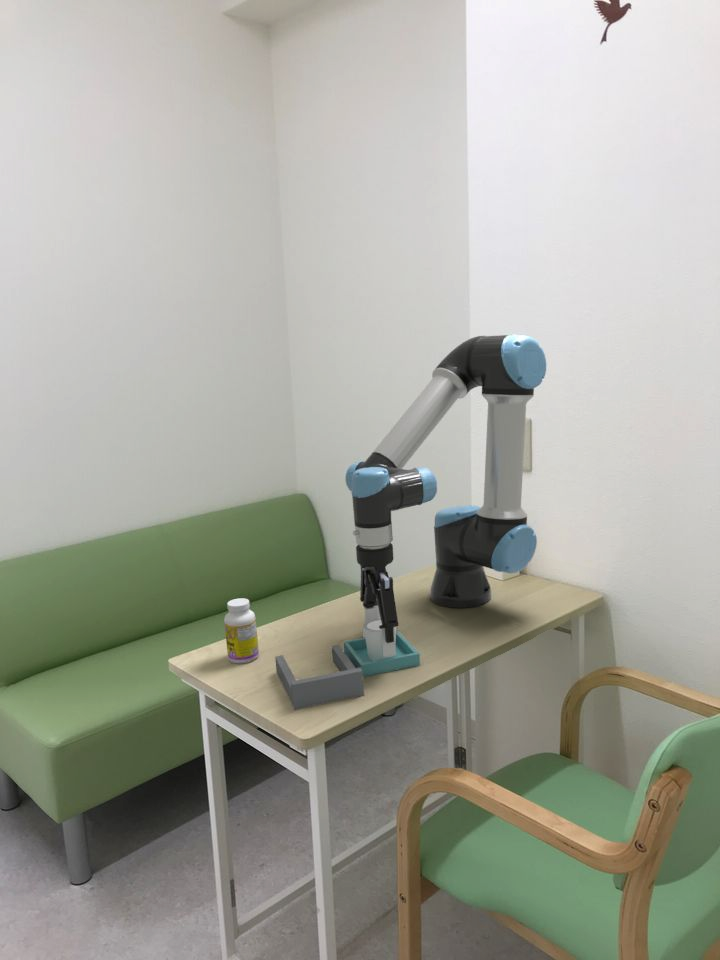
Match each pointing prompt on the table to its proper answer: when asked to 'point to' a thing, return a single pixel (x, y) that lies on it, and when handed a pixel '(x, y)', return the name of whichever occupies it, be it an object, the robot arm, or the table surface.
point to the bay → (322, 682)
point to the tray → (360, 659)
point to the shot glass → (374, 639)
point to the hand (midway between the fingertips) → (380, 645)
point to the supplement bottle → (241, 632)
